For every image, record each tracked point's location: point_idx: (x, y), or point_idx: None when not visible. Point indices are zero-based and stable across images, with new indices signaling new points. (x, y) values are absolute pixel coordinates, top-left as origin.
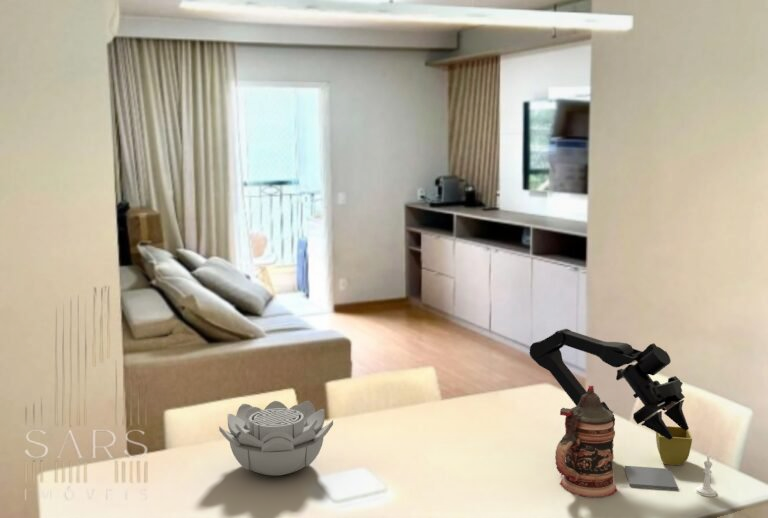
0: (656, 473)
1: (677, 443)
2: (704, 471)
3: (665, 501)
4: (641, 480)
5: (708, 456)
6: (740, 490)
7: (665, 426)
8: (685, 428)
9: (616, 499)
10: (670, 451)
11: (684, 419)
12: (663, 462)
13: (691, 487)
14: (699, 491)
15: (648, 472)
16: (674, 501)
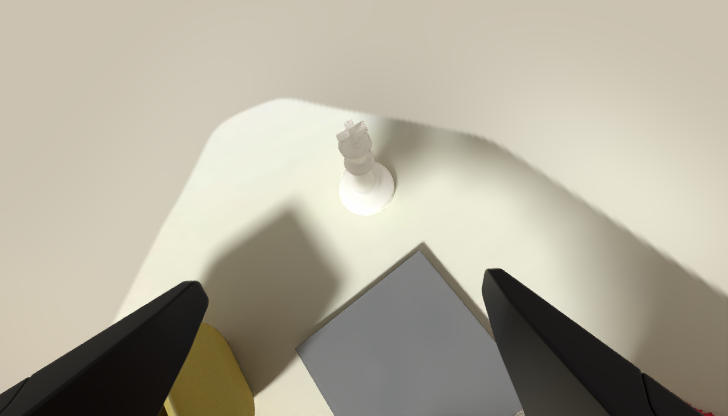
0: (370, 364)
1: (189, 378)
2: (371, 164)
3: (524, 236)
4: (473, 374)
5: (353, 125)
6: (287, 138)
7: (608, 368)
8: (195, 304)
9: (670, 364)
10: (227, 391)
11: (99, 345)
12: (253, 400)
13: (365, 233)
14: (391, 193)
15: (385, 394)
16: (499, 218)
